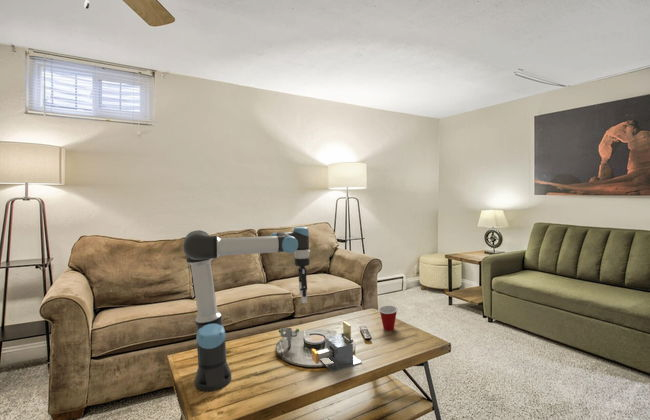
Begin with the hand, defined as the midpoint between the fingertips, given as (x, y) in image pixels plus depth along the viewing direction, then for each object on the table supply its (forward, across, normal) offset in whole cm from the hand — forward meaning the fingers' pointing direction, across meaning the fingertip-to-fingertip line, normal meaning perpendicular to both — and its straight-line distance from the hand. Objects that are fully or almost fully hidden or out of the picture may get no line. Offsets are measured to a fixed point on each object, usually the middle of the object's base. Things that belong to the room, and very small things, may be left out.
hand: (303, 298), depth 175 cm
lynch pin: (+23, -18, -9) cm, 31 cm away
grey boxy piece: (+26, -16, -15) cm, 34 cm away
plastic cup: (+26, +13, -50) cm, 58 cm away
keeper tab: (+12, -15, -20) cm, 28 cm away
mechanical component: (+27, +3, +8) cm, 28 cm away
